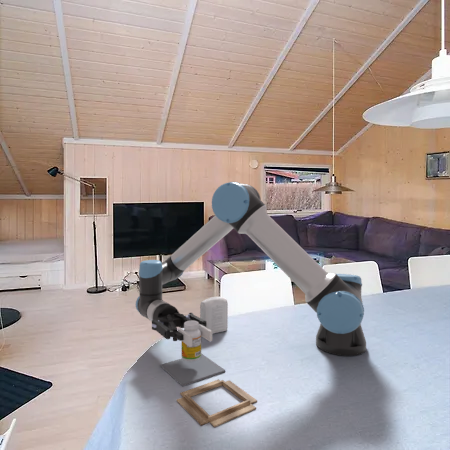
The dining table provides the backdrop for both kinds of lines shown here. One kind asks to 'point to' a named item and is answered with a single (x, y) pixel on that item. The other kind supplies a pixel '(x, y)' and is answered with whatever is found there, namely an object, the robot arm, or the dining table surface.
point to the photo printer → (215, 313)
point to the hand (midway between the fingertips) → (201, 338)
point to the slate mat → (192, 370)
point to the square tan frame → (223, 415)
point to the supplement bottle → (195, 350)
